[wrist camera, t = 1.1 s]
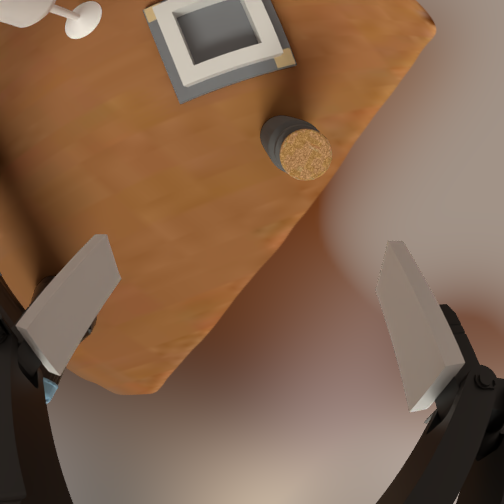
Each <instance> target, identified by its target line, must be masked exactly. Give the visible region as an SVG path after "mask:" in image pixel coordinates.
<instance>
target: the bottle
mask: <svg viewBox="0 0 504 504" xmlns="http://www.w3.org/2000/svg"><path fill="white" fill-rule="evenodd" d="M260 138H261V142H262V145H263V147H264V149H265V150H266V152H267V154H268V155H269V157H270V159H271V160H272V162H273V163H274V164H275V165H276V166H277V167H278V168H279V169H280V170H282V171H284V172H286V173H287V174H289V175H290V176H292V177H293V178H295V179H298V180H304V181H306V180H313V179H316V178H318V177H320V176H321V175H323V174H324V173H325V172H326V171H327V169H328V168H329V166H330V163H331V160H332V149H331V146H330V143H329V141H328V140H327V139H326V137H325V136H324V135H322V134H321V133H320V132H319V131H318V130H317V129H316V128H315V127H314V126H313V125H312V124H310V123H308V122H306V121H303V120H300V119H297V118H293V117H289V116H275V117H272V118H271V119H269V120H268V121H267V122H266V123H265V124H264V125H263V127H262V129H261V134H260Z"/></svg>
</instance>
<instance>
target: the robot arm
mask: <svg viewBox="0 0 504 504" xmlns="http://www.w3.org/2000/svg"><path fill="white" fill-rule="evenodd" d="M120 280H121V277H120V275H119V272H118V269H117V266H116V263H115V259H114V256H113V253H112V250H111V247H110V243H109V240H108V237H107V234H95V235H94V236H93V237H92V238H91V239H90V240H89V241H88V242H87V243H86V244H85V245H84V246H83V247H82V248H81V249H80V250H79V251H78V252H77V254H76V255H75V256H74V257H73V258H72V259H71V260H70V261H69V262H68V263H67V264H66V265H65V266H64V267H63V269H62V270H61V271H60V272H59V273H58V274H57V275H56V276H49V277H46V278H44V279H43V280H41V282H40V283H39V284H38V285H37V287H36V288H35V290H34V293H33V297H32V300H31V304H30V305H29V307H28V308H27V309H26V310H25V309H24V308H23V306H22V305H21V304H20V302H19V301H18V300H17V298H16V297H15V295H14V294H13V293H12V291H11V290H10V288H9V287H8V285H7V284H6V282H5V281H4V279H3V277H2V274H1V273H0V504H73V502H72V499H71V497H70V494H69V491H68V488H67V486H66V482H65V480H64V476H63V473H62V470H61V467H60V463H59V460H58V456H57V452H56V448H55V445H54V440H53V436H52V432H51V427H50V422H49V416H48V411H47V405H46V404H47V403H49V402H50V401H51V399H52V397H53V395H54V393H55V391H56V390H57V389H58V384H59V382H60V379H61V377H62V375H63V372H64V370H65V368H66V365H67V363H68V362H69V360H70V358H71V356H72V355H73V353H74V351H75V350H76V348H77V346H78V345H79V344H80V343H81V342H82V341H83V340H84V339H85V338H86V337H88V336H89V335H90V333H91V332H92V330H93V328H94V326H95V324H96V316H97V314H98V313H99V311H100V309H101V308H102V306H103V305H104V303H105V302H106V300H107V299H108V297H109V296H110V294H111V293H112V291H113V290H114V288H115V287H116V286H117V284H118V283H119V281H120ZM376 293H377V296H378V299H379V302H380V305H381V308H382V311H383V314H384V317H385V321H386V324H387V327H388V331H389V334H390V337H391V341H392V344H393V348H394V351H395V355H396V359H397V363H398V366H399V370H400V374H401V378H402V382H403V387H404V391H405V395H406V400H407V404H408V409H409V412H413V411H419V410H425V409H428V408H429V406H430V405H431V404H432V403H433V402H434V401H435V403H436V406H437V409H436V410H435V411H434V412H433V413H432V414H431V415H430V416H429V417H428V418H427V420H426V421H425V422H424V423H428V422H429V423H428V425H427V426H426V428H425V430H424V432H423V434H422V436H421V437H420V439H419V441H418V443H417V444H416V446H415V448H414V450H413V451H412V453H411V455H410V456H409V458H408V459H407V461H406V462H405V464H404V466H403V467H402V468H401V470H400V472H399V473H398V474H397V476H396V477H395V479H394V480H393V482H392V483H391V484H390V486H389V487H388V489H387V490H386V491H385V493H384V494H383V495H382V497H381V498H380V499H379V500H378V502H377V503H376V504H453V503H454V501H455V499H456V497H457V496H458V494H459V496H458V499H457V503H456V504H504V379H501V378H496V375H495V374H494V372H493V371H492V370H491V369H489V368H488V367H486V366H483V365H480V364H479V362H478V360H477V358H476V355H475V353H474V350H473V348H472V346H471V344H470V342H469V339H468V337H467V335H466V334H465V331H464V329H463V327H462V326H461V323H460V321H459V319H458V317H457V315H456V313H455V312H454V311H453V310H452V309H451V308H450V307H449V306H448V305H447V304H443V305H439V304H438V302H437V300H436V298H435V296H434V294H433V293H432V291H431V289H430V287H429V285H428V283H427V281H426V280H425V278H424V276H423V274H422V273H421V271H420V269H419V267H418V266H417V264H416V262H415V260H414V259H413V257H412V255H411V254H410V252H409V250H408V249H407V247H406V245H405V244H404V242H402V241H388V243H387V247H386V251H385V256H384V260H383V264H382V268H381V271H380V275H379V279H378V282H377V286H376ZM459 492H460V493H459Z"/></svg>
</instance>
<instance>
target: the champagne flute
mask: <svg viewBox="0 0 504 504" xmlns="http://www.w3.org/2000/svg"><path fill="white" fill-rule="evenodd" d="M55 2H56V0H0V22H3V23H7V24H10V25H13V26H16V27H20V28H24V27H28V26H31V25H33V24H35V23H37V22H38V21H40V20H41V19H43V18H44V17H45V16H46V15H47V14H48V13H49V12H51V13H54V14H57V15H60V16H63V17H66V18H67V20H66V24H65V32H66V34H67V36H69V37H70V38H72V39H79V38H82V37H84V36H86V35H88V34H89V33H91V32H92V31H93V30H94V29H95V27H96V26H97V25H98V23H99V21H100V19H101V16H102V9H101V6H100V5H99V4H98V3H97V2H94V1H89V2H85V3H82V4H80V5H79V6H77V7H76V8H75V9H74V10H73V11H70V10H68V9H65V8H63V7H60V6H58V5H55Z"/></svg>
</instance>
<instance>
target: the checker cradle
mask: <svg viewBox="0 0 504 504" xmlns="http://www.w3.org/2000/svg"><path fill="white" fill-rule="evenodd" d="M143 13H144V15H145V18H146V20H147V23H148V25H149V28H150V30H151V33H152V35H153V38H154V40H155V43H156V45H157V48H158V50H159V53H160V55H161V58H162V60H163V63H164V65H165V68H166V70H167V73H168V75H169V78H170V80H171V83H172V85H173V88H174V90H175V93H176V95H177V98H178V100H179V103H180V104H183V103H185V102H187V101H190V100H192V99H195V98H197V97H200V96H202V95H205V94H207V93H210V92H212V91H215V90H218V89H221V88H223V87H226V86H229V85H232V84H235V83H238V82H241V81H244V80H247V79H250V78H253V77H257V76H260V75H263V74H267V73H270V72H274V71H278V70H281V69H285V68H289V67H293V66H296V65H297V63H296V61H295V58H294V55H293V53H292V50H291V48H290V45H289V43H288V40H287V38H286V35H285V33H284V30H283V28H282V25H281V23H280V21H279V18H278V16H277V14H276V12H275V9H274V7H273V5H272V3H271V1H270V0H163V1H161V2H159V3H157V4H154V5H152V6H150V7H148V8H146V9H144V10H143Z"/></svg>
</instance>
